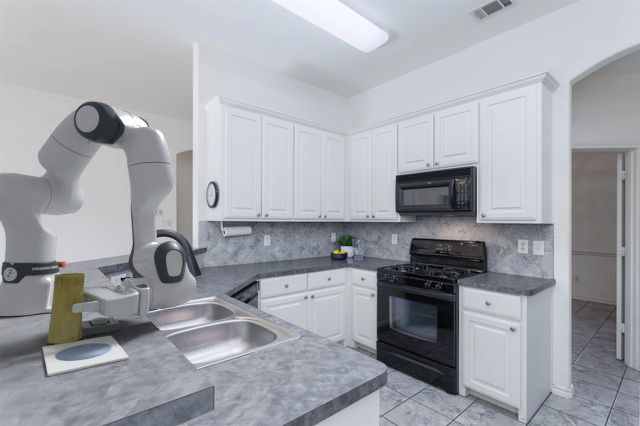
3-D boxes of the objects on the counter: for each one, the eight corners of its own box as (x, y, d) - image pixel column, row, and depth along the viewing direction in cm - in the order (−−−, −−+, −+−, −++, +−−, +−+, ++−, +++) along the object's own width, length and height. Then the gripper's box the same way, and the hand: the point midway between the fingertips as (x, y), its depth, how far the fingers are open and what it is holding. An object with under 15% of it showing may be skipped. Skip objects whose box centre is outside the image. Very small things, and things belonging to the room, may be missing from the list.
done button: (90, 324, 79) (90, 318, 79) (105, 322, 81) (106, 316, 81) (92, 327, 77) (93, 321, 77) (108, 325, 79) (108, 319, 79)
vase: (86, 335, 74) (90, 272, 75) (77, 342, 68) (82, 274, 70) (53, 338, 72) (58, 273, 73) (41, 345, 66) (47, 275, 68)
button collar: (79, 328, 79) (79, 321, 79) (112, 323, 84) (113, 317, 84) (83, 335, 74) (84, 328, 74) (118, 329, 79) (119, 323, 79)
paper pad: (42, 348, 65) (42, 346, 65) (111, 337, 74) (111, 334, 74) (47, 376, 54) (47, 373, 54) (128, 359, 62) (129, 356, 62)
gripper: (116, 278, 87) (52, 283, 77) (152, 289, 75) (81, 297, 64) (115, 301, 87) (50, 310, 76) (150, 316, 75) (78, 329, 64)
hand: (64, 304), depth 70 cm, fingers open, 8 cm apart
